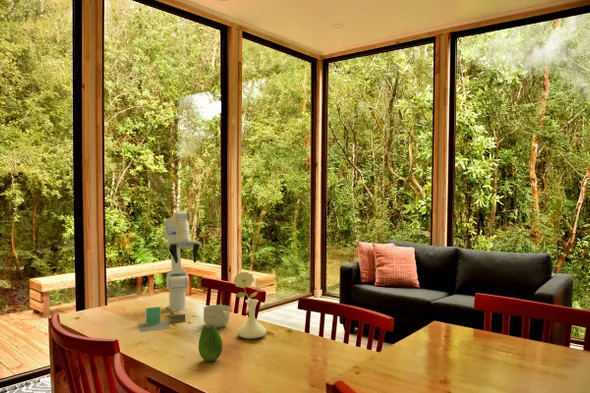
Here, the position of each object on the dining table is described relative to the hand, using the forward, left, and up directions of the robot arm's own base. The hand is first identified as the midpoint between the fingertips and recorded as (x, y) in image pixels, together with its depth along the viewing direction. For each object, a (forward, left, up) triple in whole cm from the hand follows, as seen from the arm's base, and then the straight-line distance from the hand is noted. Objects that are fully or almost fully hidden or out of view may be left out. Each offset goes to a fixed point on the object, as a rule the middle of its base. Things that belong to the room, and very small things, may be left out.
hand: (185, 261), depth 192 cm
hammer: (-9, -3, -26) cm, 28 cm away
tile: (-5, -13, -26) cm, 29 cm away
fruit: (+45, -1, -26) cm, 52 cm away
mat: (-1, -13, -26) cm, 29 cm away
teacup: (+9, +11, -26) cm, 30 cm away
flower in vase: (+26, +19, -26) cm, 42 cm away
